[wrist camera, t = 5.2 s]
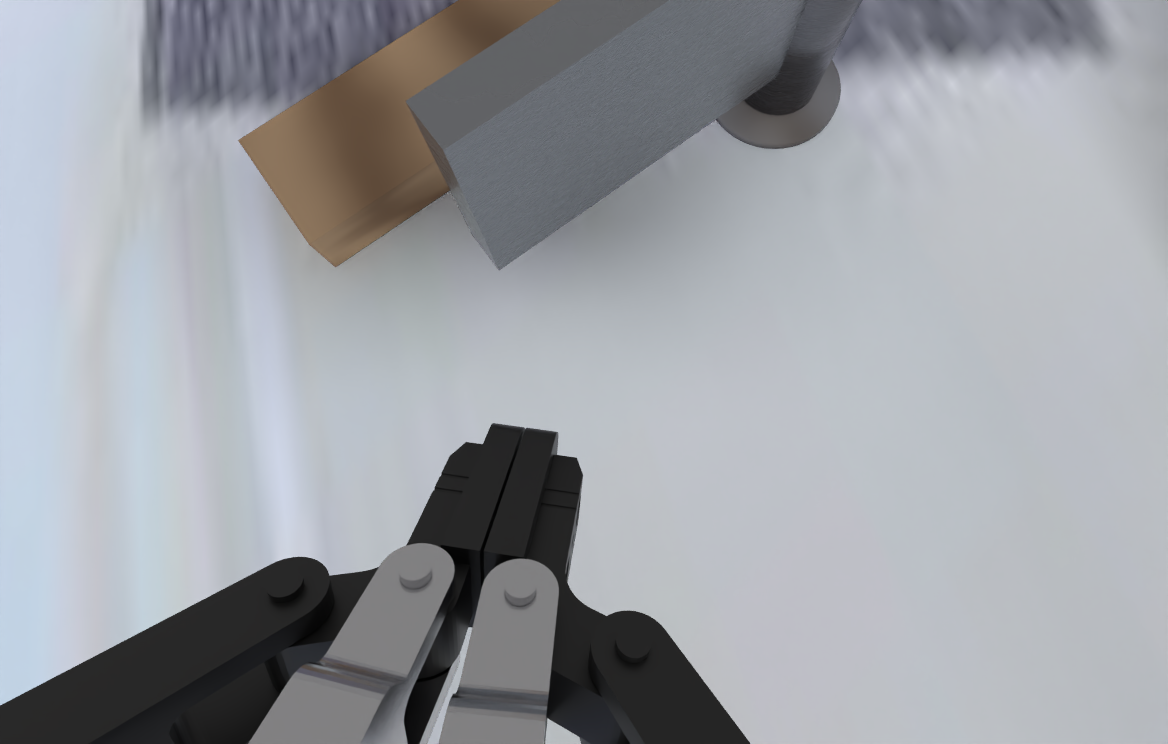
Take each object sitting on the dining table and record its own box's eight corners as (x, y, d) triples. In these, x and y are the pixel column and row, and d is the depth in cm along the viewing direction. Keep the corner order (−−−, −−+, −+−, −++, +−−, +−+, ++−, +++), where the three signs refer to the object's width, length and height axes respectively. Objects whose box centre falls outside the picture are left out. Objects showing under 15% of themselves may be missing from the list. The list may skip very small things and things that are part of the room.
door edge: (647, -162, 31) (661, -387, 23) (892, 81, 27) (1007, -88, 19) (223, 104, 28) (77, -48, 20) (432, 409, 25) (353, 367, 17)
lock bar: (780, 32, 27) (883, -242, 17) (832, 86, 26) (971, -167, 16) (472, 243, 25) (386, 77, 15) (520, 306, 25) (462, 175, 15)
